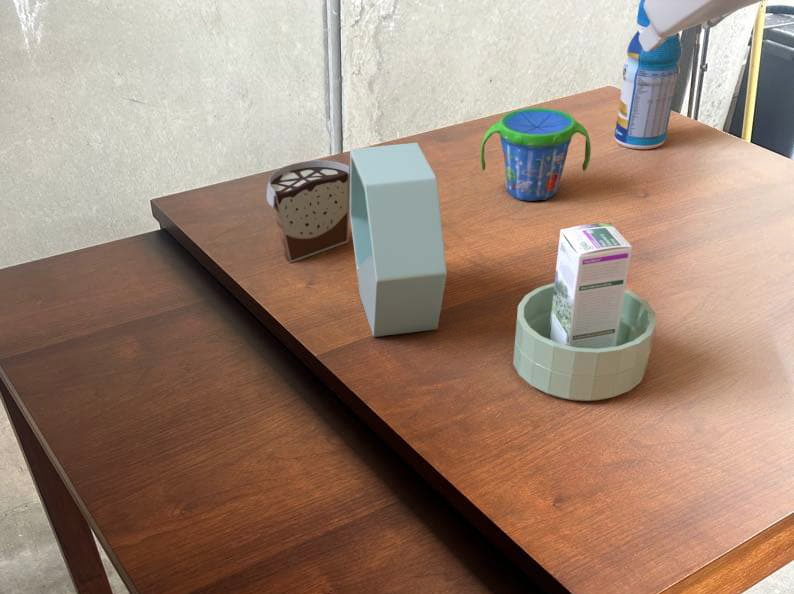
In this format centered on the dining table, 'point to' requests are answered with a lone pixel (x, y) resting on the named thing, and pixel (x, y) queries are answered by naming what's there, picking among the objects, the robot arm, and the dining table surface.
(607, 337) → the syrup box
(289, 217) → the food container
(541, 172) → the snack cup
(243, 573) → the dining table surface
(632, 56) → the beverage bottle
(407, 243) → the planter
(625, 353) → the bowl
